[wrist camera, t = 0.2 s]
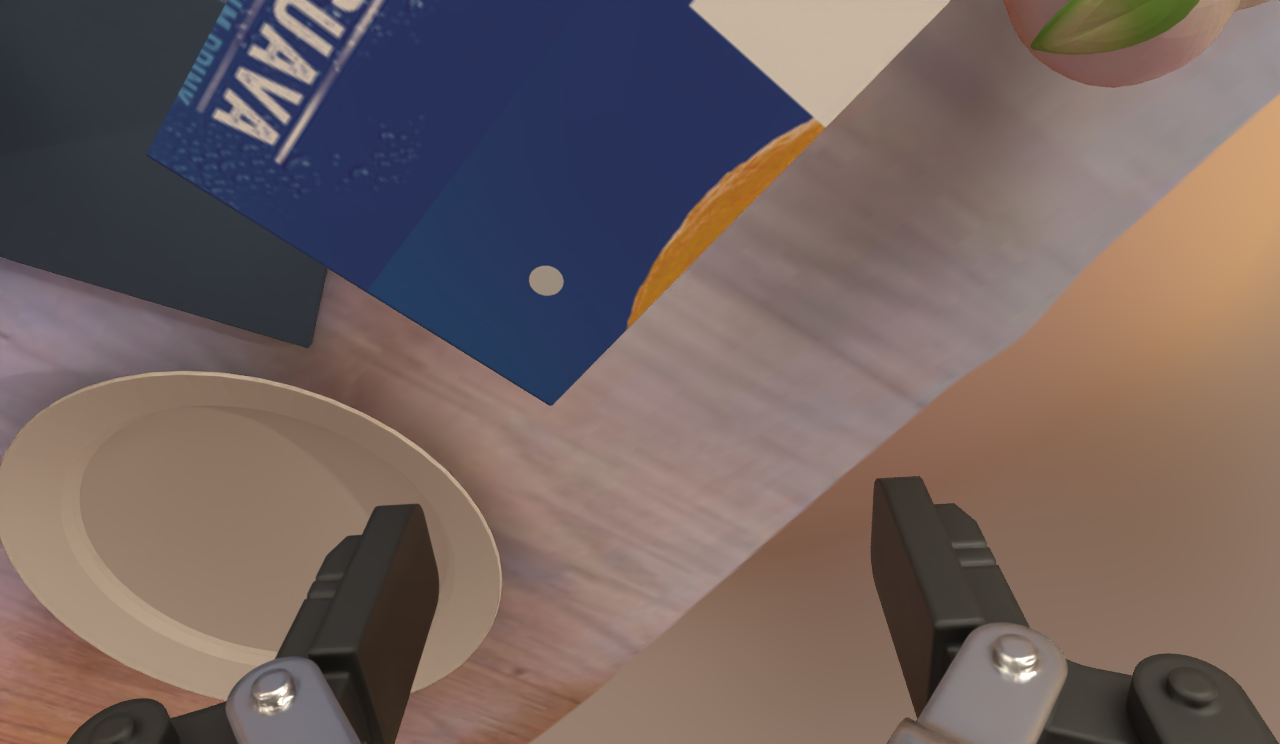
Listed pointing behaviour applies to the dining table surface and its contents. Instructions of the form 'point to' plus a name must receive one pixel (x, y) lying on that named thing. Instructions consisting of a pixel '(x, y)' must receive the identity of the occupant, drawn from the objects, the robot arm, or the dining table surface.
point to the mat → (129, 168)
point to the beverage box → (517, 146)
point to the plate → (222, 520)
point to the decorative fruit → (1119, 35)
